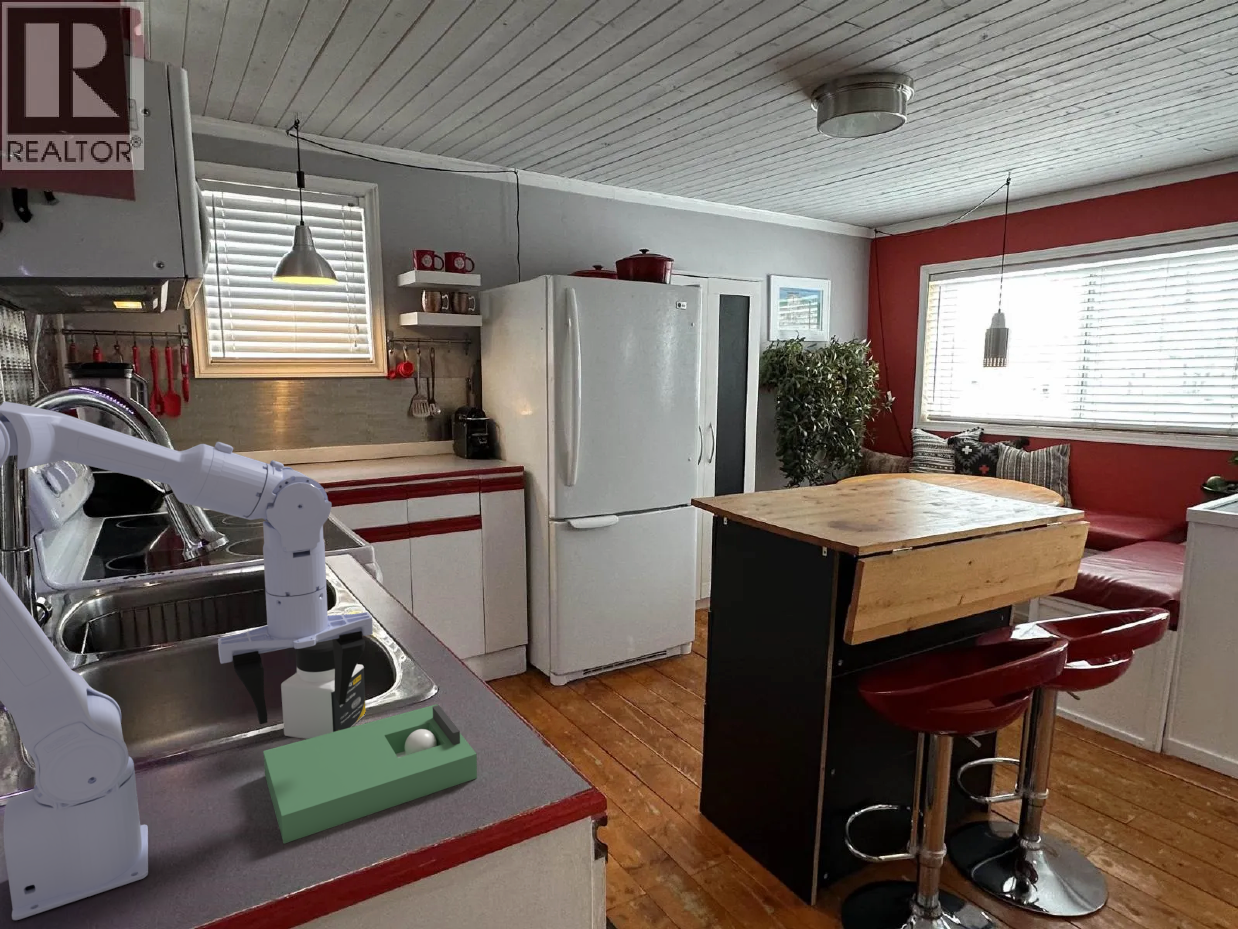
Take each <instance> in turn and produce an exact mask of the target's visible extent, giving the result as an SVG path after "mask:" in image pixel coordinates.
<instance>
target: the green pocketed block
mask: <svg viewBox="0 0 1238 929" xmlns="http://www.w3.org/2000/svg"><path fill="white" fill-rule="evenodd" d="M419 729H425V730H428V731H430V732H432V733H433V735H434V736H435V738H436V742H437V746H436V747H433V748H429V749H426V750H423V751H419V752H416V753H413V754H409V755H406V753H405V742H406V740H407V738H408V736H409V735H410V734H411V733H412V732H414V731H416V730H419ZM262 754H263V764H264V767H263V768H264V778H265V781H266V784H267V787H268V790H269V791H268V792H269V795H270V798H271V803H272V806H273V810H274V813H275V817H276V821H277V824H278V828H279V831H280V835H281V838H282V843H283V844H288V843H290V842H292V841H293V842H294V841H296V840H299V839H301V838H305V837H308V836H310V835H315V834H317V833H319V832H322V831H325V830H329V829H332V828H334V827H335V828H336V827H337V826H340V825H343V824H346V823H349V822H351V821H354V820H358V819H360V818H364V817H367V816H369V815H372V814H375V813H378V812H381V811H385V810H387V809H390V808H393V807H396V806H400V805H402V804H404V803H408V802H411V801H413V800H417V799H420V798H423V797H426V796H429V795H431V794H434V793H438V792H441V791H443V790H447V789H449V788H452V787H455V786H457V785H460V784H463V783H466V782H469V781H472V780H476V779H477V778H478V765H477V764H478V762H477V760H478V759H477V753H476V751H475V750H474V748H473V747H472V746H471V744H469V742H468V741H467V740H466V738H465V737H464V736H463V735H462V733H461V732H460V729H459V728H458V727H457V725H455V722H453V721H452V719H451V718H450V716H448V714H447V713H446V712H445V711H444V709H443V708H442V707H441V706H440V705H439V704H432V705H430V706H425V707H422V708H421V707H420V708H417V709H414V710H411V711H410V710H409V711H406V712H403V713H399V714H395V715H392V716H388V717H384V718H381V719H377V720H373V721H369V722H365V723H362V724H358V725H353V726H352V727H350V728H347V729H343V730H339V731H336V732H332V733H328V734H324V735H321V736H317V737H313V738H310V739H303V740H299V741H296V742H291V743H287V744H284V745H280V746H277V747H274V748H270V749H266V750H263V753H262Z"/></svg>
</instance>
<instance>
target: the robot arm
mask: <svg viewBox="0 0 1238 929" xmlns="http://www.w3.org/2000/svg"><path fill="white" fill-rule="evenodd" d="M233 450H234V447H233V446H232V445H230V444H227V443H224V442H221V441H216V442H215V445H214V446H213V445H209V444H206V443H200V444H197V445H195V446H193V447H190V448H188V449H184V450H176V449H173V448H171V447H170V448H169V447H166V446H164V445H162V444H161V445H160V444H157V443H154V442H152V441H148V440H144V439H143V438H142V439H141V438H139V437H136V436H134V435H130V434H126V433H124V432H120V431H117V430H115V429H112V428H108V427H104V426H102V425H98V424H96V423H93V422H89V421H86V420H83V419H80V418H77V417H75V416H72V415H69V414H65V413H62V412H59V411H54V410H49V409H47V408H46V409H44V408H41V407H36V406H31V405H27V404H21V403H16V402H11V401H10V402H9V401H5V400H4V401H3V402H2V403H1V404H0V469H1V468H2V467H3V465H4V464H5V462H6V461H7V459H8V458H9V457H12V456H17V462H16V463H17V467H16V468H17V470H24V469H25V470H26V469H29V468H33V467H38V466H43V465H48V464H51V463H52V464H53V463H57V462H62V461H63V462H66V461H67V462H71V463H75V464H80V465H83V466H88V467H93V468H95V469H96V468H98V469H101V470H105V471H109V472H114V473H118V474H123V475H127V476H132V477H135V478H140V479H143V480H148V481H152V482H158V483H161V484H165V485H168V486H169V487H170V488H171V491H172V492H173V494H174V496H175V498H176V499H177V501H178V502H179V503H182V504H185V505H186V504H187V505H189V506H194V507H198V508H202V509H205V510H209V511H213V512H217V513H222V514H225V515H229V516H232V517H233V516H234V517H237V518H241V519H245V520H249V521H252V520H259V519H263V520H264V521H263V522H262V527H263V546H262V554H263V568H264V570H263V573H264V587H265V590H264V591H265V592H264V593H265V606H266V623H267V624H266V625H265V626H264V625H263V626H261V627H260V626H259V627H257V628H254V629H251V630H246V631H244V632H241V633H237V634H233V635H230V636H225V637H220V638H217V645H218V646H217V647H218V648H217V649H218V658H219V662H220V665H223V664H227V663H232V665H233V669H234V672H235V674H236V676H237V677H238V679H239V680H240V681H241V683H242V684H243V685H244V686H245V688H246V690H247V692H248V693H249V695H250V697H251V699H252V701H253V704H254V706H255V708H256V710H255V711H256V716H257V719H258V720H257V721H258V722H259V725H263V724H267V723H268V711H267V705H266V700H265V699H266V698H265V669H264V666H263V663H262V656H261V654H264V653H271V652H275V651H279V650H285V649H290V648H294V650H296V649H300V648H305V647H310V646H314V645H315V644H316V643H317V642H322V641H327V640H332V643H333V651H334V662H335V698H336V699H337V701H338V703H339V705H342V704H346V698H347V693H348V688H349V684H350V681H351V677H352V674H353V672H354V669H355V667H356V665H357V664H358V662H359V661H360V659H361V657H362V655H363V653H364V651H365V646H366V642H365V640H364V638H363V636H364V637H365V636H371V635H373V633H374V632H373V629H374V628H373V616H371V614H370V613H369V612H368V611H366V612H365V611H364V612H359V613H350V614H349V613H347V614H346V613H345V614H329V615H328V594H327V593H328V592H327V571H326V569H327V566H326V548H325V546H326V544H325V540H324V524H325V523H326V522H327V521H328V518H329V517H330V514H331V512H332V502H331V501H329V498H328V495H327V492H326V490H325V488H324V487H323V486H322V485H321V484H320V483H319V482H318V481H316V480H314V479H313V478H311V477H309V476H308V475H306V474H304V473H302V471H301V472H300V471H298V470H294V469H293V467H291V466H284V463H282V462H280V461H276V460H274V459H273V460H270V462H269V463H267V462H264V461H261V460H257V459H255V458H252V457H248V456H244V455H241V454H238V453H235V452H233ZM0 702H1V703H2V704H3V706H4V707H5V708H6V709H7V711H8V712H9V713H10V715H11V716H12V719H13V722H14V724H15V728H16V729H17V732H18V735H19V738H20V739H21V743H22V744H23V748H24V749H25V751H27V753H28V754H29V755H30V757H31V758H32V760H33V762H34V768H35V770H34V771H35V775H34V778H35V780H34V781H35V784H34V786H33V788H32V789H30V790H28V791H26V792H25V791H24V792H23V793H21V794H18V795H15V796H13V797H10V798H9V799H7V801H6V803H5V809H4V815H3V816H4V817H3V847H4V848H3V849H4V857H5V865H6V871H7V872H6V873H7V878H8V885H9V886H8V887H9V892H10V893H9V894H10V900H11V906H12V907H11V908H12V911H11V920H13V921H18V920H22V919H25V918H28V917H31V916H34V915H36V914H40V913H43V912H46V911H49V910H52V909H56V908H58V907H62V906H64V905H68V904H71V903H74V902H76V901H79V900H82V899H85V898H87V897H88V898H89V897H91V896H94V895H97V894H100V893H103V892H107V891H110V890H112V889H115V888H118V887H122V886H124V885H127V884H131V883H134V882H137V881H139V880H142V879H145V878H146V877H147V876H148V875H149V831H148V830H149V829H148V828H149V827H148V825H147V824H141V820H140V819H141V818H140V811H139V800H138V790H137V783H136V782H137V781H136V771H135V762H134V760H133V758H132V757H131V756H129V750H128V747H127V744H126V742H125V741H124V735H123V729H122V724H121V723H122V712H121V711H122V710H121V708H120V705H119V704H118V702H117V701H116V700H115V699H114V698H113V697H111V696H109V695H108V694H106V693H104V692H101V691H98V690H96V689H95V688H92V687H91V686H90V685H89V683H88V682H87V681H86V680H85V678H84V677H83V676H82V675H81V674H80V673H78V672H77V671H74V670H72V669H71V668H70V666H69V665H68V664H67V663H66V661H65V660H64V658H63V656H62V655H61V654H60V653H59V651H58V650H57V649H56V647H55V646H54V644H53V643H52V642H51V639H49V638H48V636H47V635H46V633H45V632H44V630H43V629H42V628H41V627H40V625H39V624H38V622H37V621H36V619H35V618H34V617H33V616H32V614H31V613H30V611H29V610H28V609H27V607H26V606H25V604H24V603H23V601H22V600H21V599H20V598H19V596H18V594H17V593H16V592H15V591H14V589H13V588H12V586H11V585H10V584H9V582H8V581H7V579H6V578H5V577H4V575H3V574H2V573H1V572H0Z"/></svg>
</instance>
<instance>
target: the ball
mask: <svg viewBox="0 0 1238 929" xmlns="http://www.w3.org/2000/svg"><path fill="white" fill-rule="evenodd" d="M436 746H437V742H436V738H435V736H434V735H433V733H432V732H430V731H428V730H425V729H419V730H416V731H414V732H412V733H411V734H410V735H409V736H408V738H407V740H406V742H405V753H406V755H409V754H413V753H416V752H419V751H423V750H426V749H429V748H433V747H436Z"/></svg>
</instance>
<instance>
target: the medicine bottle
mask: <svg viewBox="0 0 1238 929" xmlns="http://www.w3.org/2000/svg"><path fill="white" fill-rule="evenodd" d="M295 661H296V663H295V664H296V672H295V673H294V674H293V675H291V676H290V677H288V678H287V679H285V680H284V681H283V682H282V683H281V684H280V689H281V702H282V704H281V705H282V719H283V734H284V736H286V737H289V738H290V737H291V738H298V739H303V740H306V739H310V738H313V737H317V736H321V735H324V734H328V733H332V732H336V731H339V730H343V729H347V728H350V727H354V726H356V724H358V722H359V721H360V720H361V719H362V718H364V717H365V715H366V714H365V712H366V713H367V710H366V691H365V689H366V687H365V669H364V668H365V667H364V665H363V664H358V663H357V665H356V667H355V669H354V672H353V674H352V677H351V681H350V684H349V688H348V693H347V698H346V704H342V705H339V703H338V701H337V699H336V698H335V662H334V651H333V643H332V640H327V641H322V642H317V643H316V644H315V645H314V646H310V647H305V648H300V649H295ZM364 714H365V715H364Z"/></svg>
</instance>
